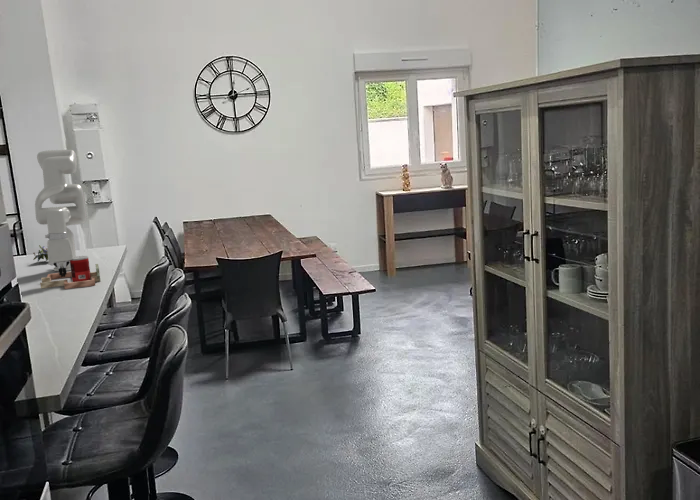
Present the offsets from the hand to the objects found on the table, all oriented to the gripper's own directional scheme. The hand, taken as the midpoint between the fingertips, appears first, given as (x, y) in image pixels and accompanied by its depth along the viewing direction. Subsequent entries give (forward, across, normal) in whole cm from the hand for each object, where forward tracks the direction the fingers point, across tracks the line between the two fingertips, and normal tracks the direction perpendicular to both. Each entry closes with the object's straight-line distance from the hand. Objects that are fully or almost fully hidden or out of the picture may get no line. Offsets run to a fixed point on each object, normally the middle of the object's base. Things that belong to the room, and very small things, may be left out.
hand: (63, 276), depth 292 cm
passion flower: (+4, -10, +68) cm, 68 cm away
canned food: (+3, +8, 0) cm, 8 cm away
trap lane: (+3, +3, 0) cm, 4 cm away
